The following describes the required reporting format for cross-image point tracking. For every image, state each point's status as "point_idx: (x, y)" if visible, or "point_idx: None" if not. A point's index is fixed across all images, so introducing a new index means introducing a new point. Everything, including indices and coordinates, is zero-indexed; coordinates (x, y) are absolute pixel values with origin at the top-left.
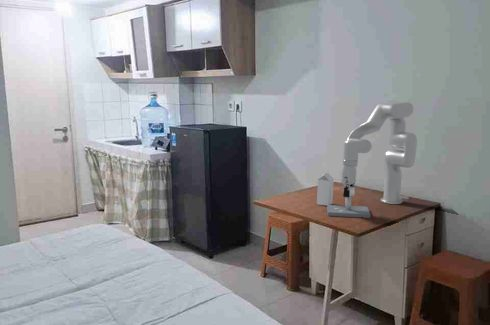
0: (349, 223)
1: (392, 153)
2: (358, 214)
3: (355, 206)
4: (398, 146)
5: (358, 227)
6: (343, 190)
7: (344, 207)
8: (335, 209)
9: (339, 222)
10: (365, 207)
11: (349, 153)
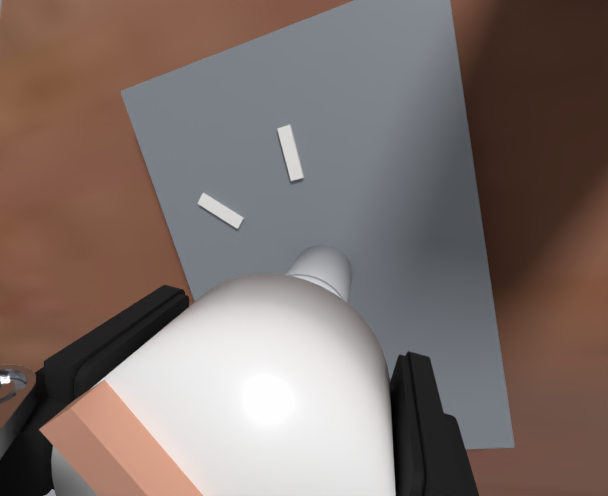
0: (64, 302)
1: None
2: None
3: (479, 339)
4: None
5: (28, 359)
6: (176, 325)
7: (385, 228)
8: (255, 145)
9: (43, 232)
10: (470, 432)
11: None
